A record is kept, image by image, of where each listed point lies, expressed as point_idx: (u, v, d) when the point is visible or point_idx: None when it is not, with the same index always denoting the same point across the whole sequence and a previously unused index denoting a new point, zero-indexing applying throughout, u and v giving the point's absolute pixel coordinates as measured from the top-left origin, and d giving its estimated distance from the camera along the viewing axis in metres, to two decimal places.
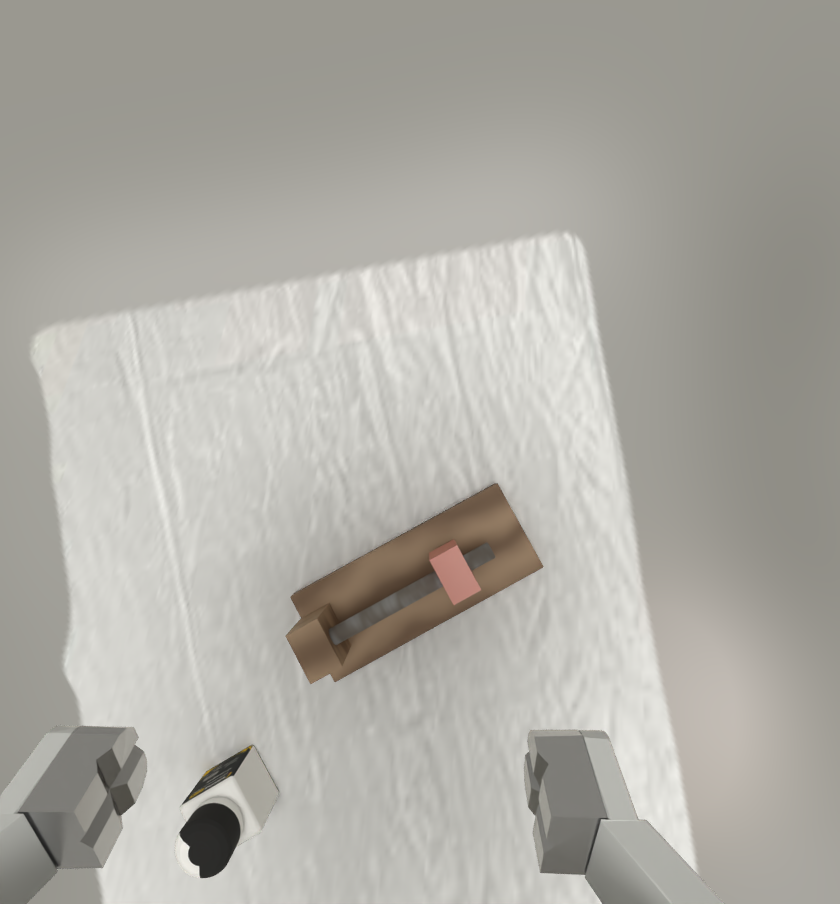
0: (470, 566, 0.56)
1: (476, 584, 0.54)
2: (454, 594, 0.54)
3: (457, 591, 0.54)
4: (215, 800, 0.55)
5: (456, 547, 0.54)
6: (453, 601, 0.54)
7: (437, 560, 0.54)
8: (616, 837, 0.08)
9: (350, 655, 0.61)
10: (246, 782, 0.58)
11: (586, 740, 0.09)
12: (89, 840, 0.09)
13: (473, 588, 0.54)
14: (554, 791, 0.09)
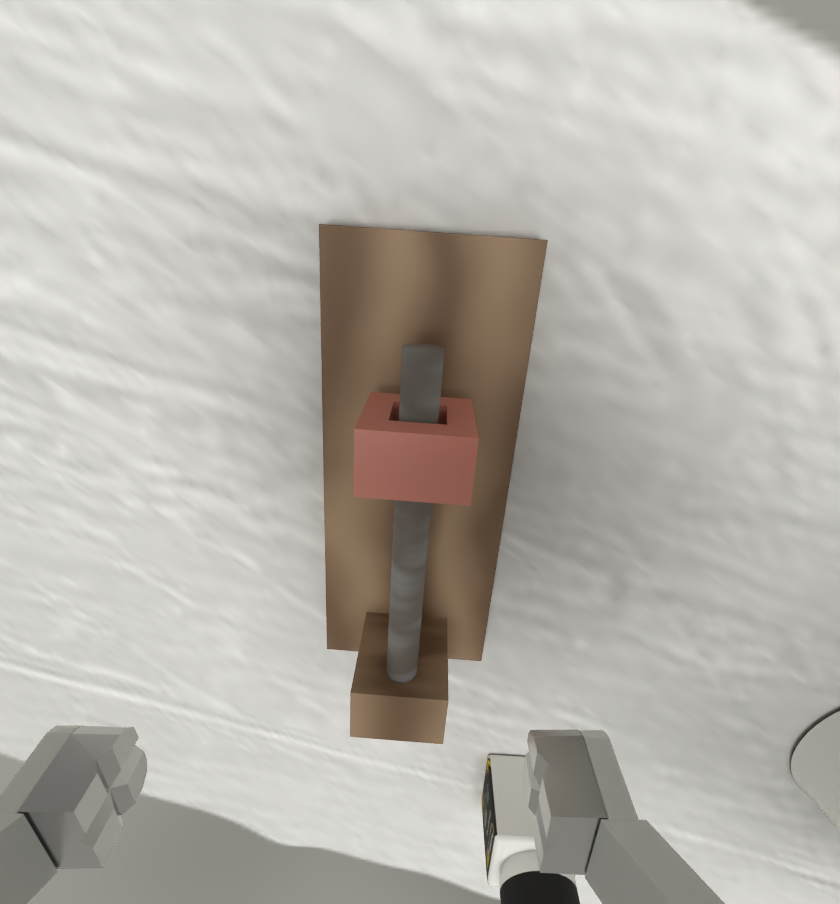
0: (425, 416, 0.23)
1: (460, 440, 0.22)
2: (451, 492, 0.23)
3: (449, 483, 0.23)
4: (506, 873, 0.39)
5: (358, 432, 0.22)
6: (462, 502, 0.23)
7: (363, 483, 0.23)
8: (616, 836, 0.08)
9: (460, 626, 0.37)
10: (517, 815, 0.40)
11: (586, 741, 0.09)
12: (89, 840, 0.09)
13: (464, 451, 0.22)
14: (554, 791, 0.09)
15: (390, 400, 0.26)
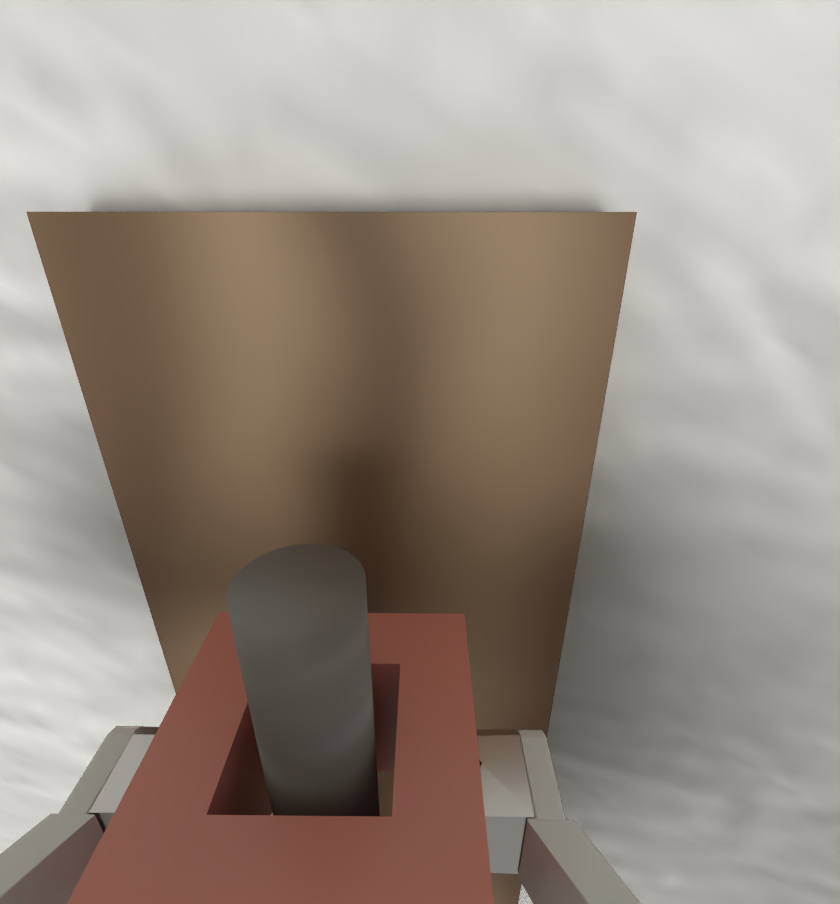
0: (326, 777, 0.08)
1: None
2: None
3: None
4: None
5: None
6: None
7: None
8: (540, 836, 0.08)
9: None
10: None
11: (523, 740, 0.09)
12: None
13: None
14: (484, 790, 0.09)
15: None
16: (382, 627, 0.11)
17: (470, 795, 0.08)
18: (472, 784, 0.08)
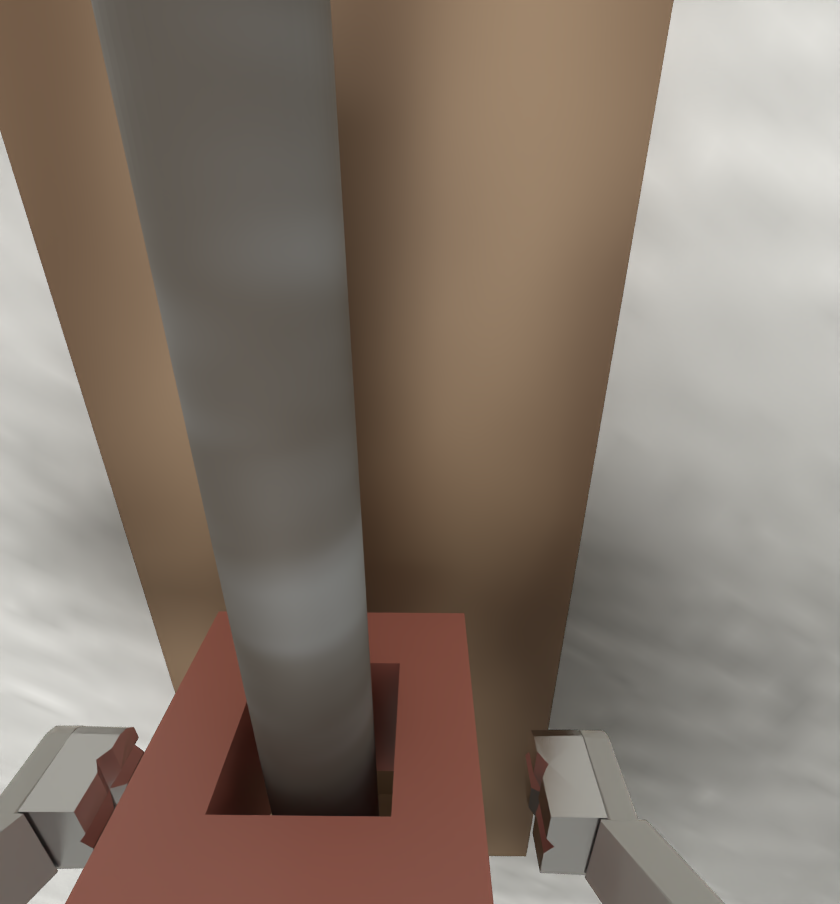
0: (265, 328, 0.05)
1: None
2: None
3: None
4: None
5: None
6: None
7: None
8: (616, 837, 0.08)
9: None
10: None
11: (586, 740, 0.09)
12: (89, 840, 0.09)
13: None
14: (554, 791, 0.09)
15: None
16: (382, 626, 0.11)
17: (470, 795, 0.08)
18: (472, 784, 0.08)
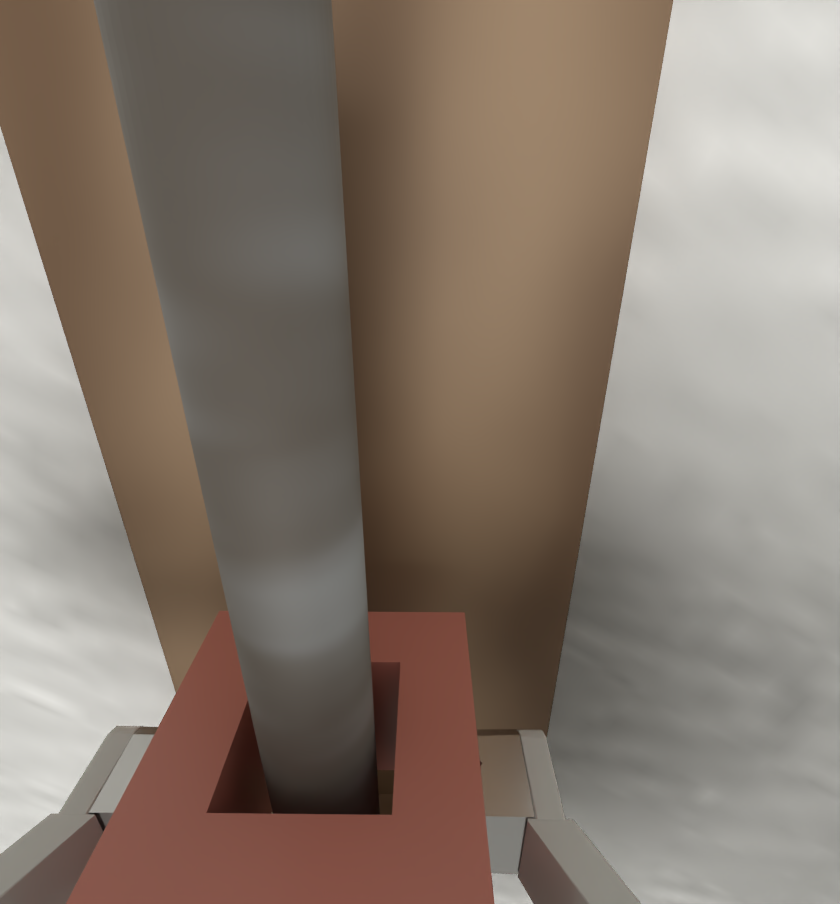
0: (267, 328, 0.05)
1: None
2: None
3: None
4: None
5: None
6: None
7: None
8: (540, 835, 0.08)
9: None
10: None
11: (523, 740, 0.09)
12: None
13: None
14: (484, 790, 0.09)
15: None
16: (382, 626, 0.11)
17: (470, 793, 0.08)
18: (472, 782, 0.08)
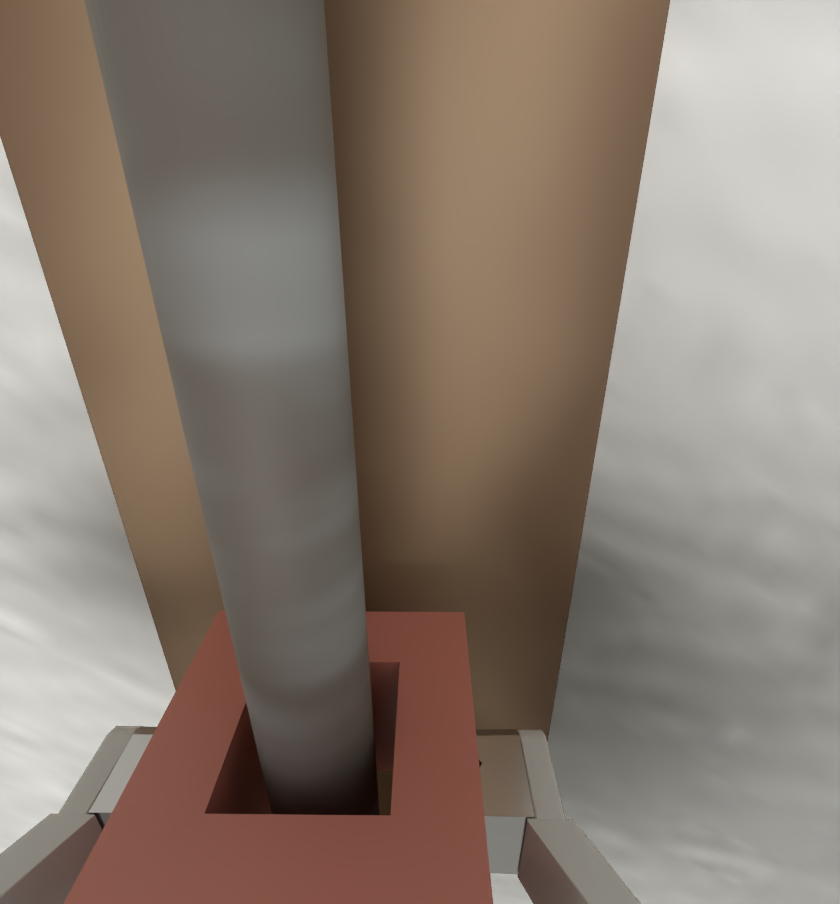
0: None
1: None
2: None
3: None
4: None
5: None
6: None
7: None
8: (540, 836, 0.08)
9: None
10: None
11: (523, 740, 0.09)
12: None
13: None
14: (484, 790, 0.09)
15: None
16: (381, 626, 0.11)
17: (469, 794, 0.08)
18: (471, 783, 0.08)
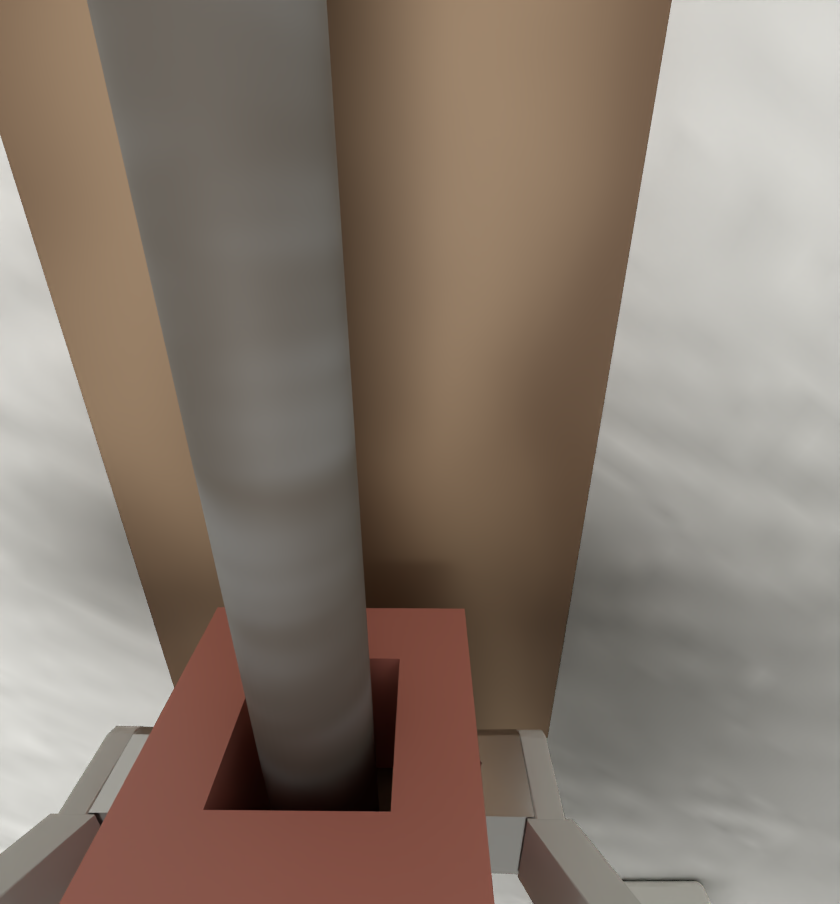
0: None
1: None
2: None
3: None
4: None
5: None
6: None
7: None
8: (540, 836, 0.08)
9: (494, 666, 0.15)
10: None
11: (523, 741, 0.09)
12: None
13: None
14: (484, 790, 0.09)
15: None
16: (381, 622, 0.11)
17: (470, 790, 0.07)
18: (472, 779, 0.08)
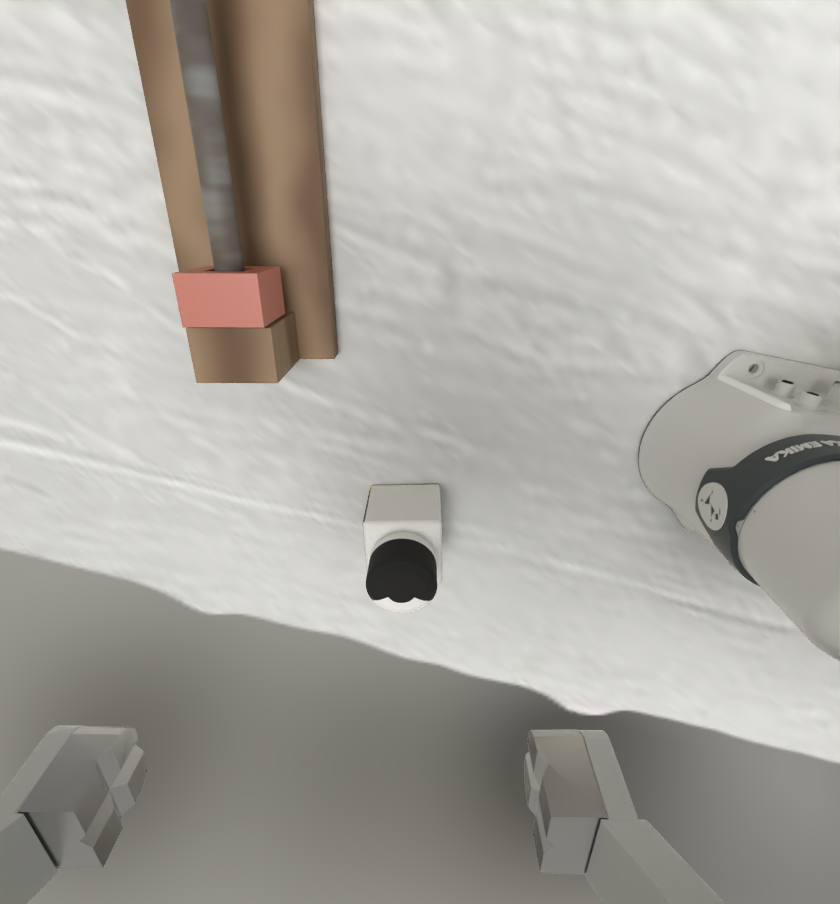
0: (188, 3, 0.28)
1: (245, 276, 0.32)
2: (248, 317, 0.33)
3: (245, 311, 0.33)
4: (372, 550, 0.43)
5: (175, 276, 0.32)
6: (257, 324, 0.33)
7: (187, 315, 0.33)
8: (616, 836, 0.08)
9: (308, 320, 0.41)
10: (385, 511, 0.45)
11: (586, 740, 0.09)
12: (89, 840, 0.09)
13: (249, 284, 0.32)
14: (554, 791, 0.09)
15: None
16: (253, 266, 0.37)
17: (261, 270, 0.34)
18: (263, 271, 0.34)
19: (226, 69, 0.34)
